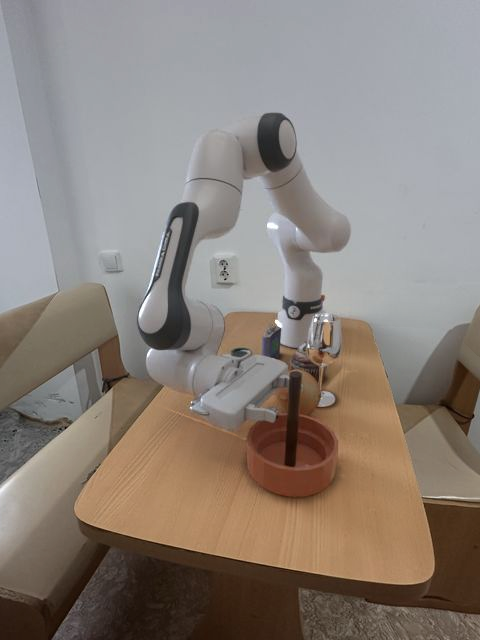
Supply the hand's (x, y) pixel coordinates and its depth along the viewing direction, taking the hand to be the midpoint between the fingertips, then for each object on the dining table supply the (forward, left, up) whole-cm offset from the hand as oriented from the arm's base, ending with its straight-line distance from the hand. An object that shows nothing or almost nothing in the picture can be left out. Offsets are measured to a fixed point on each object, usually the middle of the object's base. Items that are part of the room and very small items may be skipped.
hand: (289, 402), depth 61 cm
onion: (-16, -5, -13) cm, 21 cm away
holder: (-22, -23, -13) cm, 34 cm away
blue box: (-36, -22, -13) cm, 44 cm away
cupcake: (-32, -9, -13) cm, 36 cm away
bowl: (0, +1, -13) cm, 13 cm away
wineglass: (-24, -3, -13) cm, 28 cm away
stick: (0, +1, -12) cm, 12 cm away
